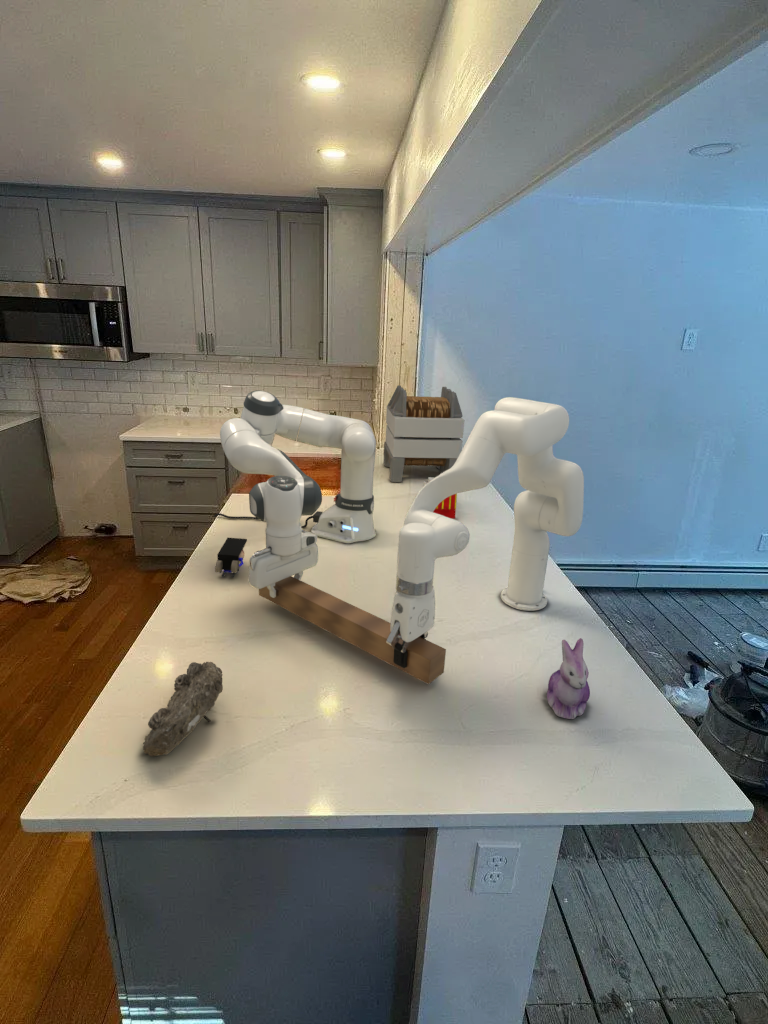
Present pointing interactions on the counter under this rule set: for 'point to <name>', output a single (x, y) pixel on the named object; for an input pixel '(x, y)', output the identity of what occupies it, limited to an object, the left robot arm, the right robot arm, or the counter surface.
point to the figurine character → (230, 556)
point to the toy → (445, 504)
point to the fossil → (184, 708)
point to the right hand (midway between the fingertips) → (409, 658)
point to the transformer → (422, 432)
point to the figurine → (569, 683)
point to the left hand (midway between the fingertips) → (285, 591)
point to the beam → (356, 627)
